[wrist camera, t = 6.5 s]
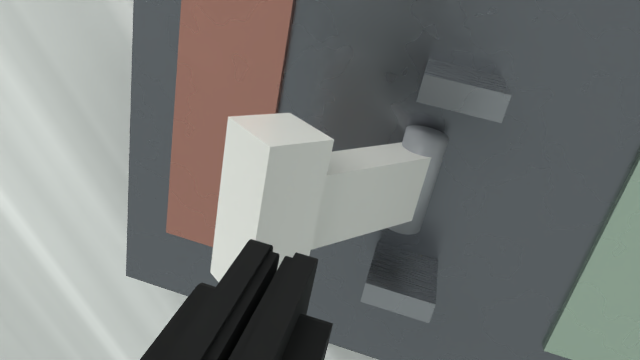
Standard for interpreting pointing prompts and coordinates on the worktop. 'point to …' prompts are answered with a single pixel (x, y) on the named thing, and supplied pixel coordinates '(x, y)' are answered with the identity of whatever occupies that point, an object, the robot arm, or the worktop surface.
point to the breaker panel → (389, 127)
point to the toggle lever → (317, 186)
